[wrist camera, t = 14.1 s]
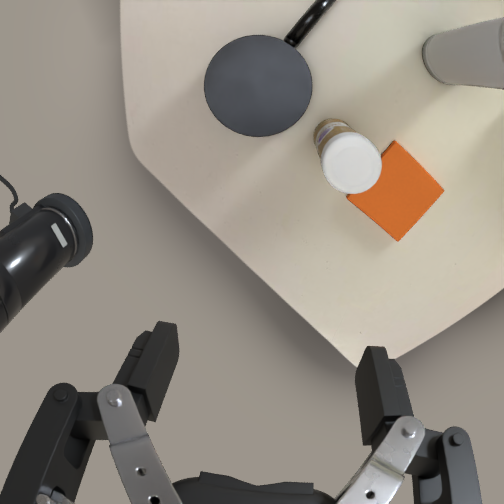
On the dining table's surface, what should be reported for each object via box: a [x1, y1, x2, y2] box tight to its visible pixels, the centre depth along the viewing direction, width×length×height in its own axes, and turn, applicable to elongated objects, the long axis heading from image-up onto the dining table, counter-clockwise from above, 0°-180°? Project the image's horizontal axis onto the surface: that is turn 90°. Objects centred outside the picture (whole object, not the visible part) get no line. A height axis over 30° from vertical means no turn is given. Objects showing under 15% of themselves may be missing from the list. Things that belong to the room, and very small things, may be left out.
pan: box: [204, 0, 336, 137], centre depth 28 cm, size 11×19×3 cm, turn 146°
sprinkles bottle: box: [314, 119, 382, 194], centre depth 28 cm, size 5×5×13 cm
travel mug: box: [422, 17, 504, 89], centre depth 18 cm, size 6×7×20 cm
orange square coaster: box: [346, 141, 444, 241], centre depth 35 cm, size 9×9×1 cm
